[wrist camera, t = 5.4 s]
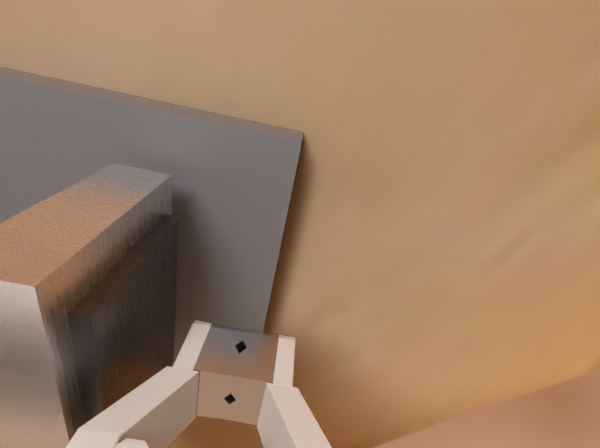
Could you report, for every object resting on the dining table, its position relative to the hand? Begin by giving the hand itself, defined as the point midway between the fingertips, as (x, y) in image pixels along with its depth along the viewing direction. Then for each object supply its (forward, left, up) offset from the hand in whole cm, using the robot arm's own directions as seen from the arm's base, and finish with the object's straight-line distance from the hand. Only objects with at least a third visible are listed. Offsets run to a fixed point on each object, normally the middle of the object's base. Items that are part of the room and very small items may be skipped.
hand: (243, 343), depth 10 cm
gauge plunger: (+7, 0, -2) cm, 7 cm away
